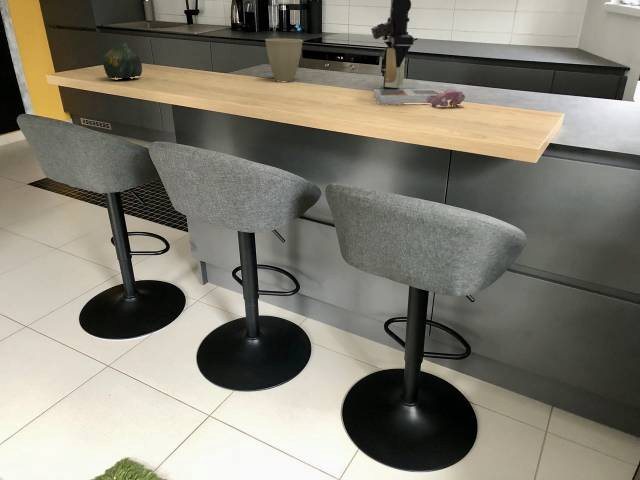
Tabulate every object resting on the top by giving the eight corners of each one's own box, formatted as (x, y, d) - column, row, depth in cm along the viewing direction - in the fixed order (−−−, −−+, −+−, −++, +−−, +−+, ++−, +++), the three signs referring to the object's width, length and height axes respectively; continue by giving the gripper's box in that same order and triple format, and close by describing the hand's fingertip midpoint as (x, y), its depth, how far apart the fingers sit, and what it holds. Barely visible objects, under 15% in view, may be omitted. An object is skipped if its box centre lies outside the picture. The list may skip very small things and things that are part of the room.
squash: (89, 66, 202) (106, 36, 195) (113, 63, 216) (131, 35, 209) (115, 92, 204) (133, 64, 196) (138, 88, 217) (156, 61, 210)
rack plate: (373, 98, 179) (374, 88, 178) (434, 98, 181) (435, 88, 180) (380, 104, 169) (380, 94, 167) (445, 104, 171) (446, 94, 169)
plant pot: (301, 84, 205) (301, 41, 198) (264, 83, 205) (263, 40, 198) (303, 78, 218) (303, 38, 211) (268, 77, 219) (267, 37, 212)
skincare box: (391, 84, 176) (394, 46, 171) (403, 85, 174) (406, 47, 169) (383, 87, 171) (386, 48, 166) (396, 88, 169) (398, 48, 164)
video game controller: (434, 112, 166) (441, 94, 161) (429, 104, 169) (435, 86, 163) (461, 111, 169) (469, 93, 163) (456, 103, 171) (463, 85, 166)
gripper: (369, 12, 170) (366, 62, 177) (379, 15, 154) (376, 69, 161) (401, 13, 171) (398, 62, 178) (416, 15, 155) (411, 69, 161)
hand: (395, 65), depth 170 cm, fingers closed on skincare box, 7 cm apart
